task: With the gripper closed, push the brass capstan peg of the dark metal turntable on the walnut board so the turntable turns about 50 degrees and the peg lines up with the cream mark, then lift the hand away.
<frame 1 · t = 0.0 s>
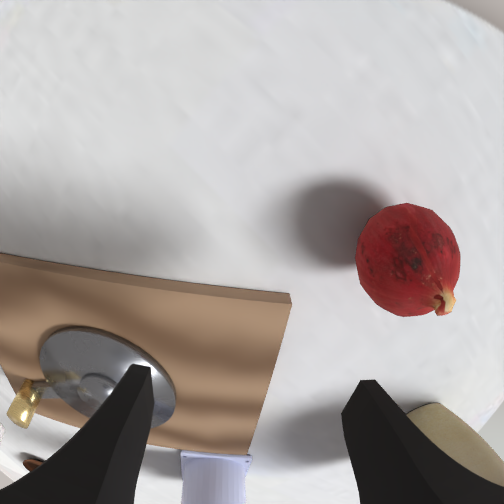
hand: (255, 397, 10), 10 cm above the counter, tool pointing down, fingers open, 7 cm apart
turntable: (75, 403, 20), point 4 cm above the counter, hinge at 0.0°
onion: (379, 231, 19), on the counter
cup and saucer: (54, 470, 36), on the counter
board: (110, 371, 23), on the counter
plant pot: (415, 420, 29), on the counter
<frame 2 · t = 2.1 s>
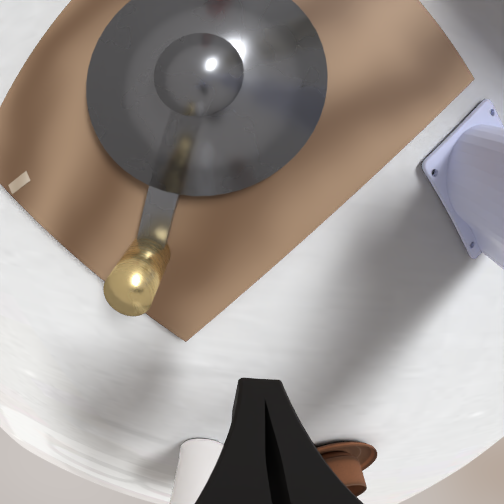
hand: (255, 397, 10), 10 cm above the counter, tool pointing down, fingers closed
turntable: (176, 127, 12), point 4 cm above the counter, hinge at 0.0°
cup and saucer: (327, 455, 32), on the counter
board: (205, 80, 15), on the counter
drinking glass: (204, 445, 29), on the counter
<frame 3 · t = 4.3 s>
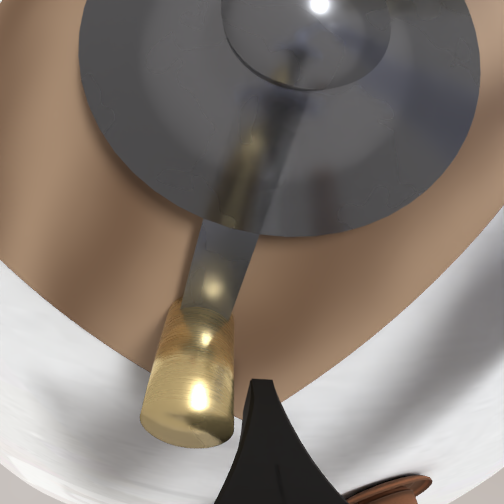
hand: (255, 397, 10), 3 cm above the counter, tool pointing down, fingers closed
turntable: (278, 106, 6), point 4 cm above the counter, hinge at -0.4°, touching gripper
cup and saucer: (379, 488, 25), on the counter
board: (289, 37, 8), on the counter
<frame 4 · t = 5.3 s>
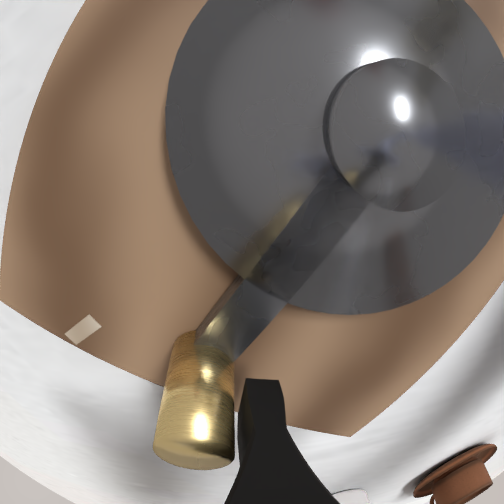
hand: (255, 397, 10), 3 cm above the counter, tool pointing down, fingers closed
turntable: (354, 222, 7), point 4 cm above the counter, hinge at -29.1°, touching gripper
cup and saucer: (451, 462, 25), on the counter
board: (363, 126, 9), on the counter
drinking glass: (341, 494, 24), on the counter
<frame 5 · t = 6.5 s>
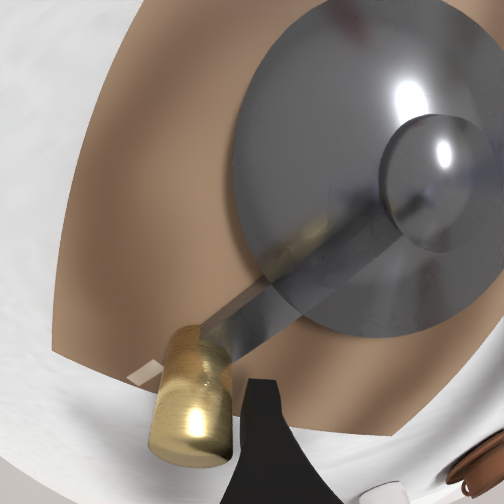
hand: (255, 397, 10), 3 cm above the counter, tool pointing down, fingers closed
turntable: (394, 253, 7), point 4 cm above the counter, hinge at -47.6°, touching gripper
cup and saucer: (480, 448, 25), on the counter
board: (402, 165, 10), on the counter
drinking glass: (379, 488, 25), on the counter
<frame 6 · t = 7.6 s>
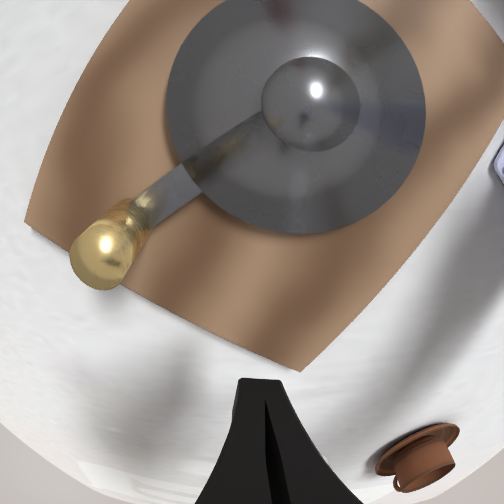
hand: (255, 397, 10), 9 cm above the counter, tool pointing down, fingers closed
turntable: (258, 137, 11), point 4 cm above the counter, hinge at -47.7°
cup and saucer: (414, 441, 30), on the counter
board: (298, 105, 14), on the counter
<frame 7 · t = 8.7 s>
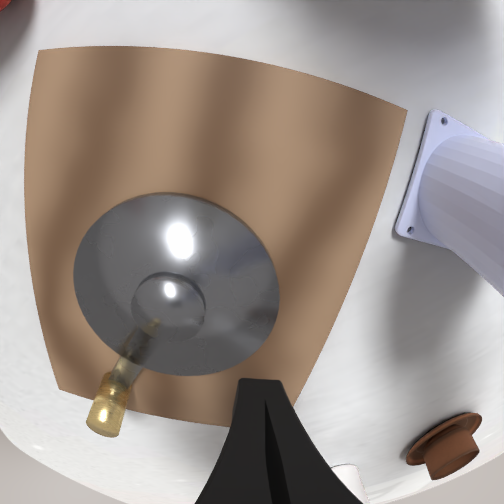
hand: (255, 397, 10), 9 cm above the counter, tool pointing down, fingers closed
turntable: (145, 348, 16), point 4 cm above the counter, hinge at -47.7°
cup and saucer: (440, 431, 31), on the counter
board: (176, 283, 19), on the counter
drinking glass: (337, 469, 32), on the counter
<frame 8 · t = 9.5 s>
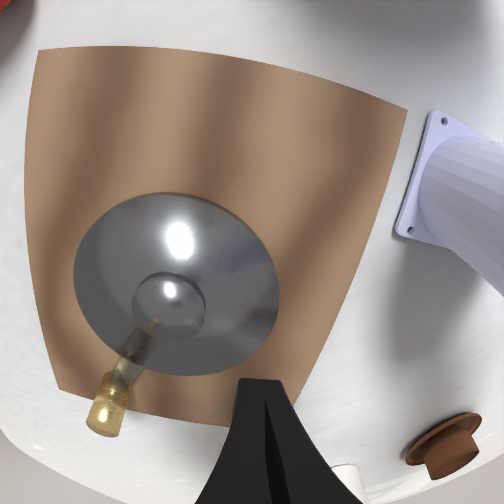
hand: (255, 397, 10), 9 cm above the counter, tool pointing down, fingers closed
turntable: (145, 348, 16), point 4 cm above the counter, hinge at -47.7°
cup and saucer: (440, 431, 31), on the counter
board: (176, 283, 19), on the counter
drinking glass: (337, 469, 32), on the counter
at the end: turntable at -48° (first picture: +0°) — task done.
